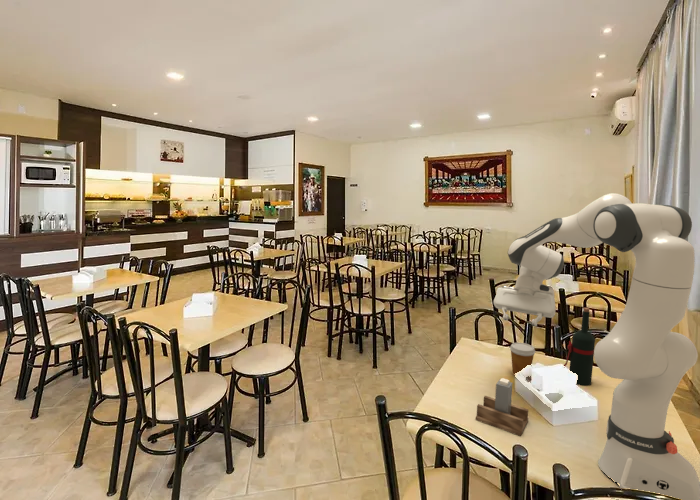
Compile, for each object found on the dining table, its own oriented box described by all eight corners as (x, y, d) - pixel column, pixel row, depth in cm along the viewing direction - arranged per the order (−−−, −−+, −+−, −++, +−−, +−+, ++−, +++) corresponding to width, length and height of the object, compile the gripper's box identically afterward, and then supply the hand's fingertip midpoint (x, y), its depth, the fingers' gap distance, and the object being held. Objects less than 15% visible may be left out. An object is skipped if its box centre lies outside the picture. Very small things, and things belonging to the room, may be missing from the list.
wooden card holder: (528, 420, 122) (529, 408, 121) (520, 436, 114) (521, 422, 113) (485, 406, 130) (485, 394, 130) (475, 419, 122) (476, 407, 122)
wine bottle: (560, 373, 154) (566, 304, 150) (588, 378, 150) (595, 306, 146) (563, 382, 147) (569, 309, 142) (593, 387, 143) (601, 312, 139)
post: (510, 416, 122) (512, 379, 120) (506, 422, 119) (509, 384, 117) (497, 412, 125) (499, 376, 123) (494, 418, 122) (496, 381, 120)
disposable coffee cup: (537, 379, 149) (540, 351, 147) (513, 379, 149) (515, 351, 147) (527, 369, 158) (529, 342, 157) (504, 368, 158) (506, 342, 157)
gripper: (497, 280, 140) (487, 311, 134) (558, 289, 128) (550, 323, 122) (499, 289, 145) (490, 320, 138) (559, 298, 132) (552, 332, 126)
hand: (519, 322), depth 130 cm, fingers open, 8 cm apart
